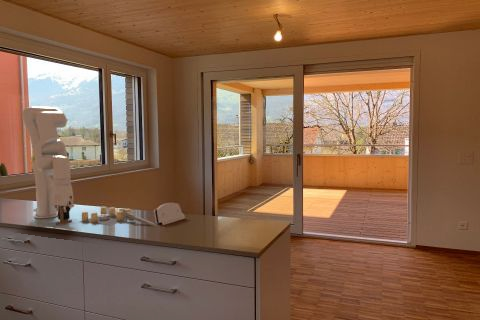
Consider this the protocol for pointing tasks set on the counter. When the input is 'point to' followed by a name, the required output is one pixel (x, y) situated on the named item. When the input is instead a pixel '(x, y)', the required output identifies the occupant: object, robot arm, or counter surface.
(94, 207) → the counter surface
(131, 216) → the caliper
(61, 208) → the brown inverted t block
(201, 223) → the counter surface
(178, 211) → the beige flat slab
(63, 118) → the robot arm
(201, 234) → the counter surface
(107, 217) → the nut
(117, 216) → the spacer jig
